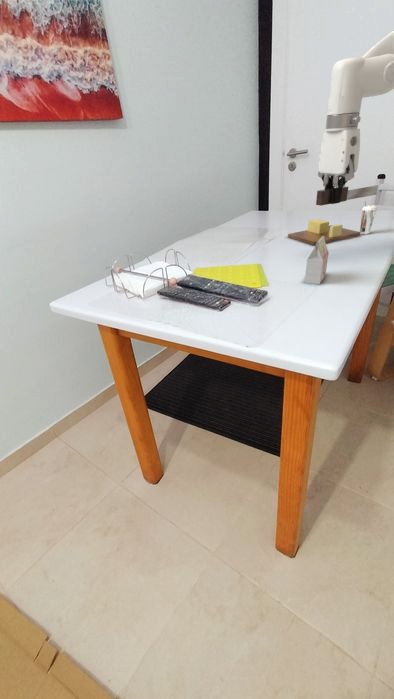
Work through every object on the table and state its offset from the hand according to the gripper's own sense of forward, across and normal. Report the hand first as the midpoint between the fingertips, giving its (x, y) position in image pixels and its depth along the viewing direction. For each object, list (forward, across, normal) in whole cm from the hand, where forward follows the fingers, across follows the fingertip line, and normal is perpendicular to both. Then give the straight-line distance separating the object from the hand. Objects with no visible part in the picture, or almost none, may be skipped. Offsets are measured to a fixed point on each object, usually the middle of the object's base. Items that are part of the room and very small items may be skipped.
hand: (331, 202), depth 94 cm
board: (+15, +17, -14) cm, 27 cm away
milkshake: (+15, +12, -28) cm, 34 cm away
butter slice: (+14, +12, -14) cm, 23 cm away
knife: (0, 0, -6) cm, 6 cm away
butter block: (+14, +20, -14) cm, 28 cm away
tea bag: (+15, -13, +14) cm, 25 cm away
